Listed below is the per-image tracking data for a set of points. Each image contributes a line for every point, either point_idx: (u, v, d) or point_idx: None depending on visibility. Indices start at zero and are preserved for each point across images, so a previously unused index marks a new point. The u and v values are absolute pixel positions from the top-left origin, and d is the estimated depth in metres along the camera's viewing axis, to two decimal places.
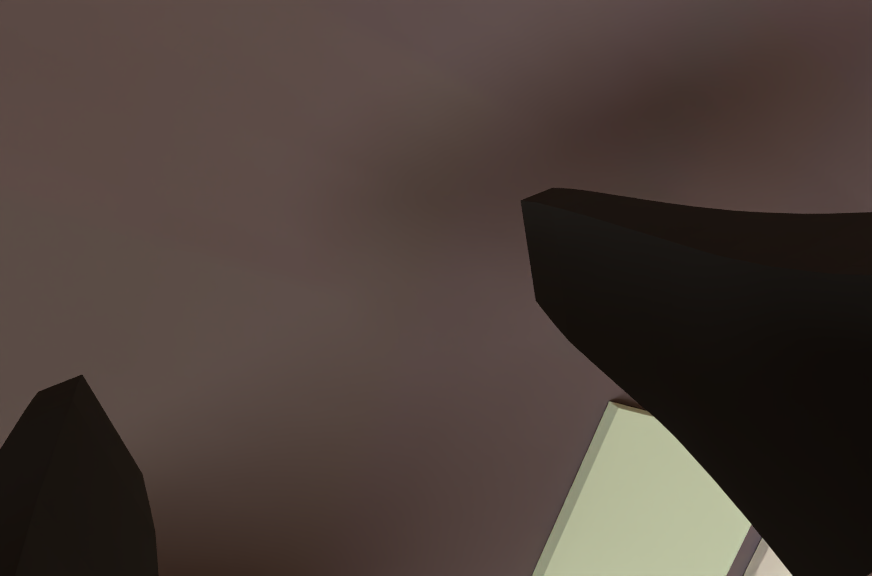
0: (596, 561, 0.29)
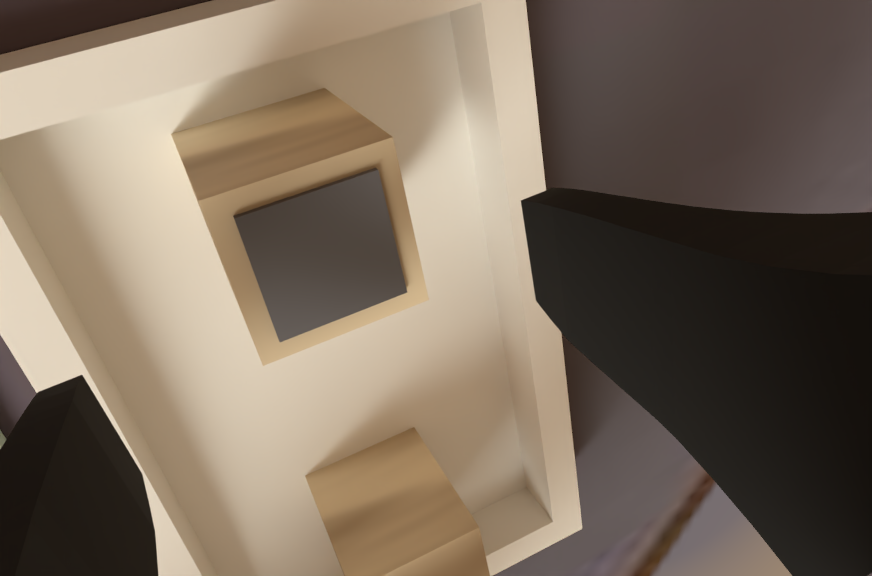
0: None
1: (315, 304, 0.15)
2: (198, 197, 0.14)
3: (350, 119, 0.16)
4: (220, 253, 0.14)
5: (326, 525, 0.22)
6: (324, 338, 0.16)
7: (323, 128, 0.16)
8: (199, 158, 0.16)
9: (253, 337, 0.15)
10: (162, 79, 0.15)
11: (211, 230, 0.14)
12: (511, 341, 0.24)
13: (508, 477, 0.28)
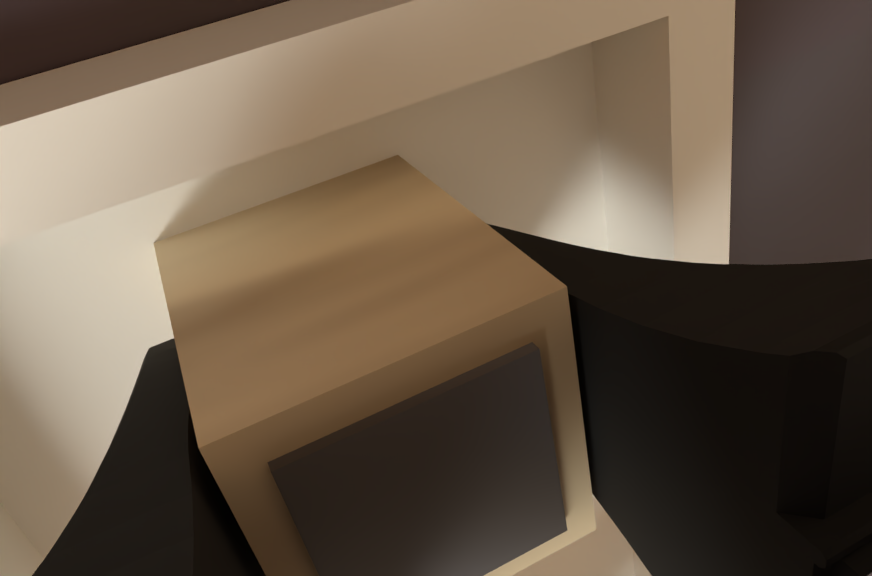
0: None
1: None
2: (198, 435, 0.07)
3: (465, 231, 0.09)
4: (243, 529, 0.07)
5: None
6: None
7: (419, 250, 0.09)
8: (200, 312, 0.09)
9: None
10: (130, 176, 0.08)
11: (225, 492, 0.07)
12: None
13: None
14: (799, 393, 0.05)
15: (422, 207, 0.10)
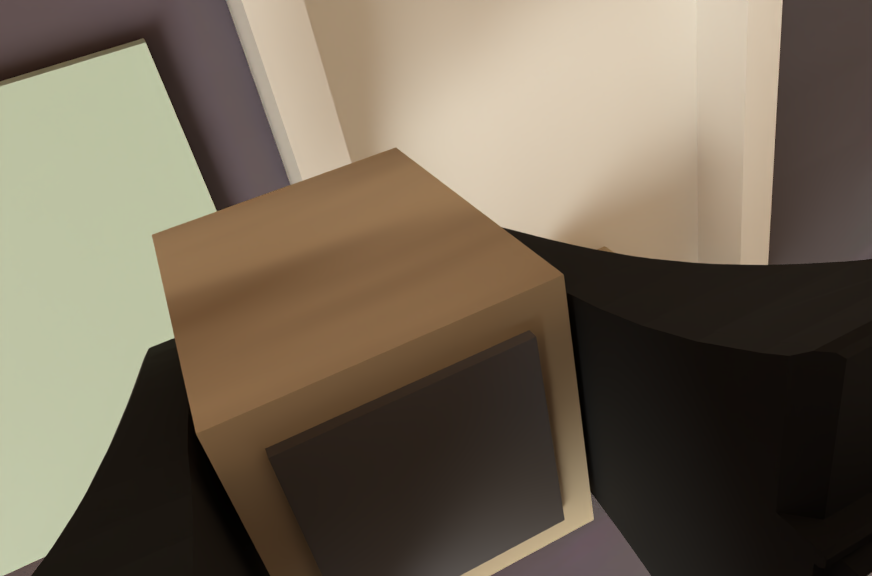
0: None
1: (412, 567, 0.08)
2: (196, 421, 0.07)
3: (462, 221, 0.09)
4: (241, 515, 0.07)
5: None
6: None
7: (417, 239, 0.09)
8: (198, 302, 0.09)
9: None
10: None
11: (223, 479, 0.07)
12: (713, 146, 0.23)
13: None
14: (798, 393, 0.05)
15: (420, 198, 0.10)
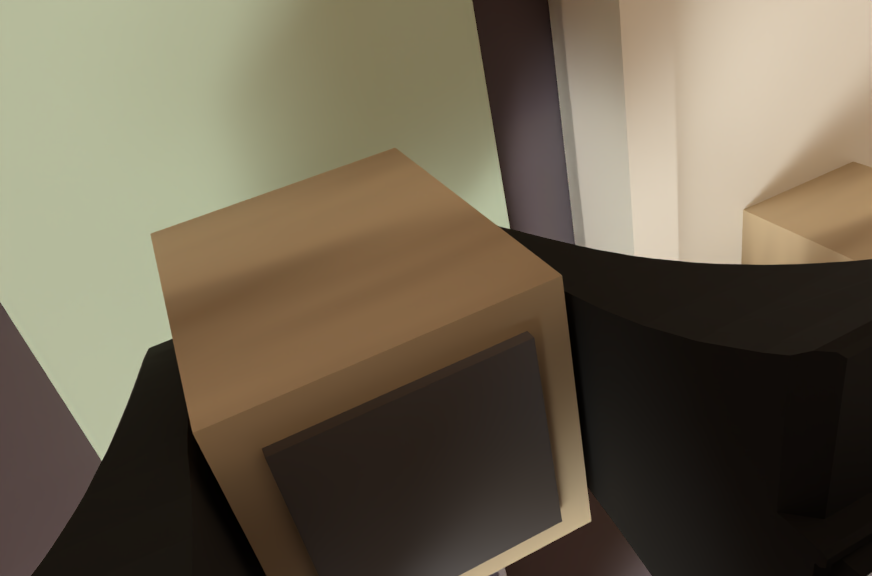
0: (157, 315, 0.14)
1: (409, 567, 0.08)
2: (192, 420, 0.07)
3: (461, 222, 0.09)
4: (237, 515, 0.07)
5: (817, 242, 0.18)
6: None
7: (415, 239, 0.09)
8: (196, 301, 0.09)
9: None
10: None
11: (219, 478, 0.07)
12: None
13: None
14: (799, 393, 0.05)
15: (419, 198, 0.10)
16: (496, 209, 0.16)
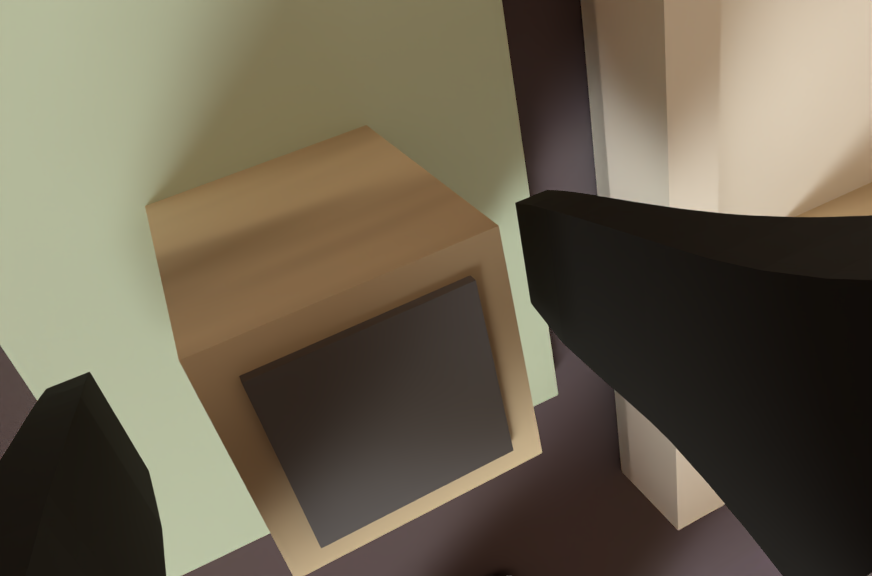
0: (162, 344, 0.13)
1: (375, 488, 0.10)
2: (179, 351, 0.08)
3: (418, 185, 0.10)
4: (220, 435, 0.08)
5: None
6: (388, 528, 0.10)
7: (377, 201, 0.10)
8: (184, 258, 0.10)
9: (279, 545, 0.10)
10: None
11: (203, 402, 0.08)
12: None
13: None
14: None
15: (383, 167, 0.11)
16: None
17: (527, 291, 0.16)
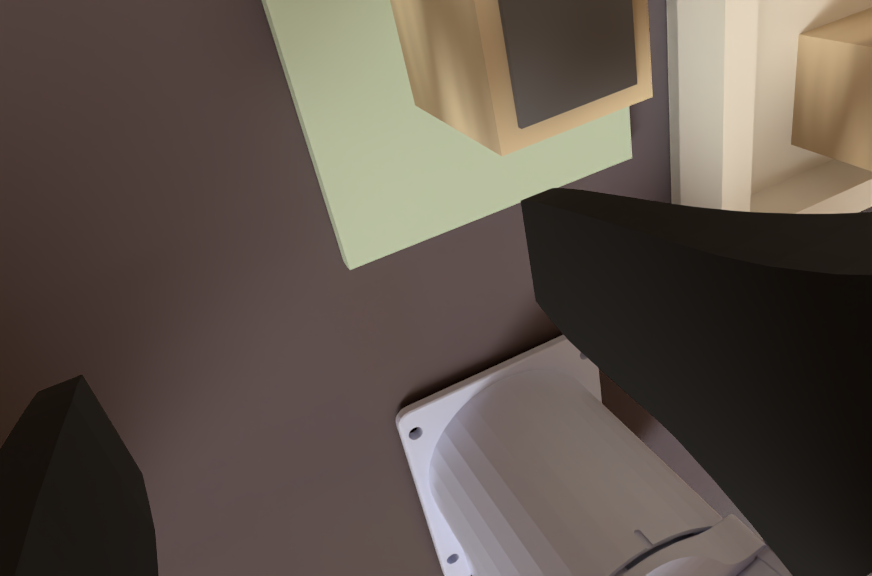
0: (374, 61, 0.19)
1: (557, 89, 0.15)
2: None
3: None
4: (479, 23, 0.14)
5: (862, 45, 0.22)
6: (558, 130, 0.16)
7: None
8: None
9: (497, 122, 0.15)
10: None
11: None
12: None
13: None
14: None
15: None
16: None
17: None
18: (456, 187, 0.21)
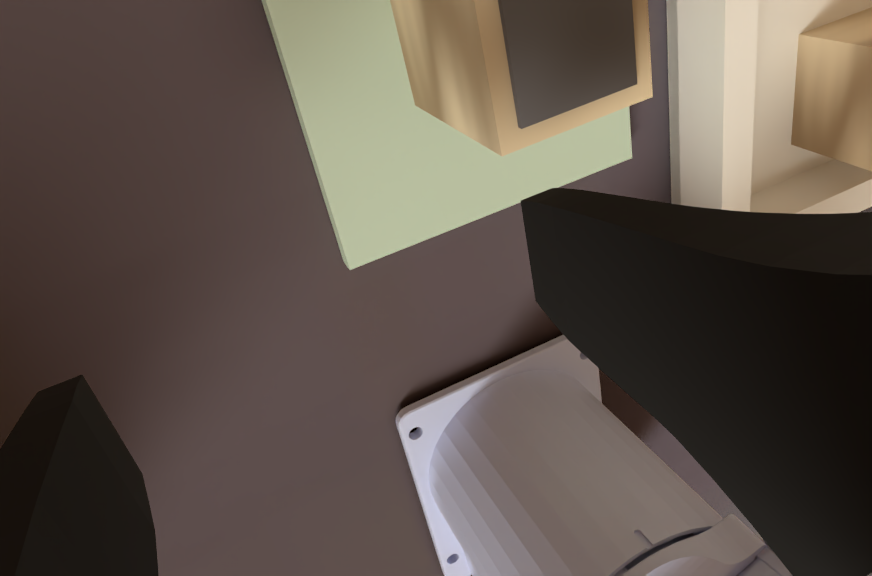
0: (374, 61, 0.19)
1: (557, 89, 0.15)
2: None
3: None
4: (479, 23, 0.14)
5: (862, 45, 0.22)
6: (558, 130, 0.16)
7: None
8: None
9: (497, 122, 0.15)
10: None
11: None
12: None
13: None
14: None
15: None
16: None
17: None
18: (456, 187, 0.21)
